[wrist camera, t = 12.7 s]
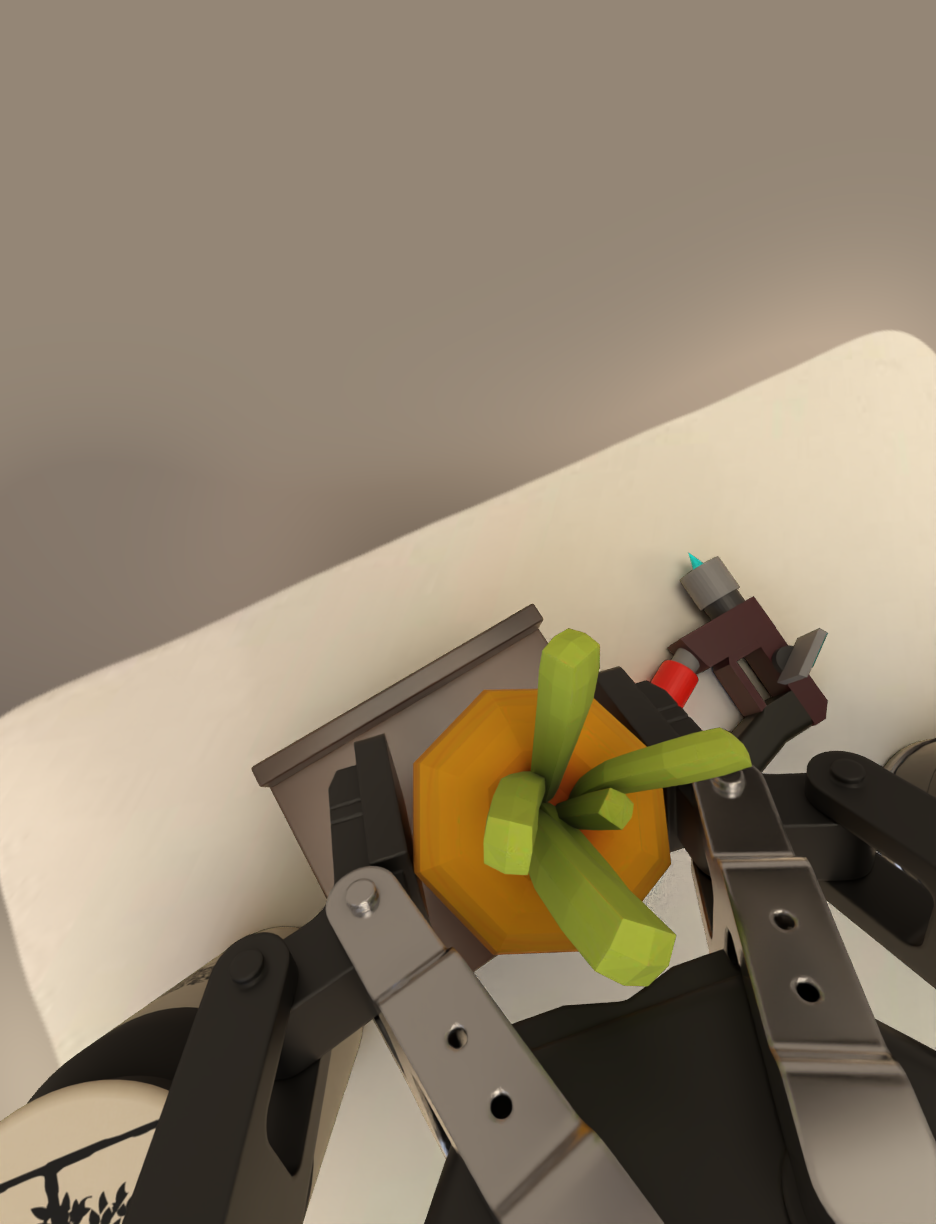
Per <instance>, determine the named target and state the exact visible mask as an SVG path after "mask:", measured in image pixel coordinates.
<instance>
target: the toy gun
mask: <svg viewBox="0 0 936 1224" xmlns="http://www.w3.org/2000/svg"><path fill="white" fill-rule="evenodd" d="M688 553H689V552H688ZM689 557H690V560H691V564H692V567H693V570H692V571H691V572H689V573H688V574H686V575H685V576H684V577H683V578H681V579H680V582H681V583H682V585H683V586H684V588H685V589H686V590H687V592H688V593H689V595H690V596H691V598H692V599H693V601H694V602H695V604H696V605H697V606H698V608H699V609H700V611H702V610H705V612H706V613H707V615H708V616H709V618H710V619H711V621H710V622H708V623H706V624H705V625H703V626H701V627H700V628H698V629H696V630H694V631H693V632H691V633H689V634H687V635H686V636H684V637H682V638H681V639H679V640H678V641H676V642H675V643H673V644H672V645H670V646H669V647H667V648H668V649H669V650H670V651H671V652H672V653H673V654H674V656H673V658H672V660H666V661H664V662H663V663H662V664H661V666H660V668H659V669H658V671H657V673H656V674H655V676H654V678H653V679H652V681H651V683H653V684H655V685H657V686H659V687H661V688H663V689H665V690H666V691H667V692H668V693H669V694H670V696H671V697H672V698H673V699H674V700H675V701H676V702H677V703H678V706H680V707H681V708H683V707H684V705H685V703H686V702H687V700H688V698H689V696H690V695H691V693H692V691H693V690H694V688H695V686H696V684H697V683H698V677H697V674H699V673H701V672H703V671H704V670H706V669H708V668H710V667H712V666H713V672H714V674H715V675H716V677H717V678H718V680H719V681H720V683H721V684H722V685H723V687H724V688H725V690H726V691H727V693H728V694H729V696H730V697H731V699H732V700H733V702H734V703H735V705H736V706H737V708H738V709H739V711H740V712H741V714H742V715H743V717H744V716H745V718H744V719H743V720H742V721H741V723H740V724H739V725H738V726H737V727H736V728H735V729H734V731H733V732H732V734H733V735H734V736H735V737H736V738H737V739H738V740H739V741H740V742H741V743H743V744H744V746H745V748H746V750H747V752H748V753H749V756H750V760H751V764H752V765H753V766H755V767H756V768H757V769H758V770H759V771H760V772H762V771H763V770H764V769H765V768H766V766H767V765H768V764H769V763H770V762H771V760H772V759H773V758H774V757H775V756H776V754H777V753H778V752H779V751H780V750H781V748H782V747H783V746H784V744H785V743H786V742H788V741H789V740H791V739H792V738H794V737H795V736H797V735H798V734H800V733H802V732H803V731H805V730H806V729H808V728H809V727H811V726H814V725H817V724H818V723H820V722H821V721H823V720H824V719H826V712H827V703H828V700H827V699H826V698H825V696H824V695H823V693H822V692H821V691H820V689H819V688H818V686H817V685H816V684H815V682H814V681H813V679H812V678H811V677H810V675H809V673H810V670H811V668H812V667H813V666H814V663H815V661H816V659H817V657H818V654H819V652H820V650H821V648H822V645H823V643H824V641H825V639H826V636H827V634H828V633H827V632H826V631H824V630H822V629H820V628H818V629H816V630H814V631H812V632H810V633H808V634H805V635H803V636H801V637H799V638H797V640H796V642H795V644H794V646H788V644H787V643H786V642H785V640H784V639H783V637H782V636H781V635H780V633H779V632H778V630H777V629H776V627H775V625H774V624H773V623H772V621H771V620H770V618H769V617H768V616H767V614H766V613H765V611H764V610H763V609H762V607H761V606H760V604H759V603H758V602H757V600H756V599H755V597H754V596H753V597H751V598H749V599H748V600H746V601H745V600H744V599H743V597H742V596H741V594H740V593H739V591H738V590H737V589H738V588H739V587H740V586H739V585H738V583H737V582H736V580H735V579H734V578H733V576H732V575H731V573H730V572H729V571H728V569H727V568H726V566H725V565H724V564H723V562H722V561H721V559H720V558H719V557H718V556H717V557H714V558H712V559H710V560H708V561H707V562H705V563H702V562H701V561H700V560H698V559H697V558H695V557H694V556H693V555H691V554H690V553H689ZM743 657H745V659H746V660H747V662H748V663H749V665H750V666H751V667H752V669H753V670H754V672H755V673H756V675H757V676H758V678H759V679H760V680H761V682H762V683H763V685H764V686H765V688H766V689H767V690H768V692H769V693H770V695H771V696H772V697H771V698H769V699H768V700H766V701H764V700H763V699H762V698H761V696H760V695H759V693H758V692H757V690H756V689H755V687H754V686H753V685H752V683H751V682H750V680H749V679H748V677H747V676H746V674H745V673H744V671H743V670H742V669H741V667H740V666H739V664H738V663H737V661H738V660H740V659H741V658H743Z"/></svg>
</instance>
